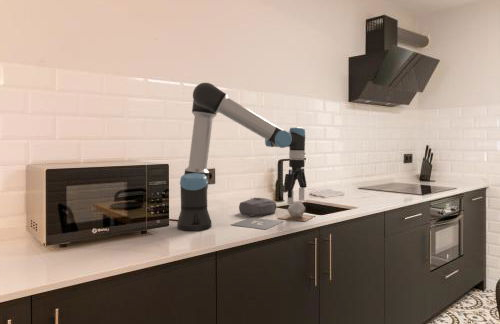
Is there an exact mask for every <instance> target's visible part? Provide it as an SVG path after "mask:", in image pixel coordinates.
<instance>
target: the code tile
mask: <svg viewBox="0 0 500 324" xmlns="http://www.w3.org/2000/svg"><path fill="white" fill-rule="evenodd" d="M284 221H285V220H279V219H278V220H277V219H268V218H260V217H259V218H258V217H253V216H249V217H248V218H246V219H242V220H240V221H238V222H234V223H231V224H230V226H236V227H243V228H251V229H257V230H265V231H266V230H269V229H271V228H273V227H275V226H277V225H280V224H281V223H283V222H284ZM279 223H280V224H279Z"/></svg>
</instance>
